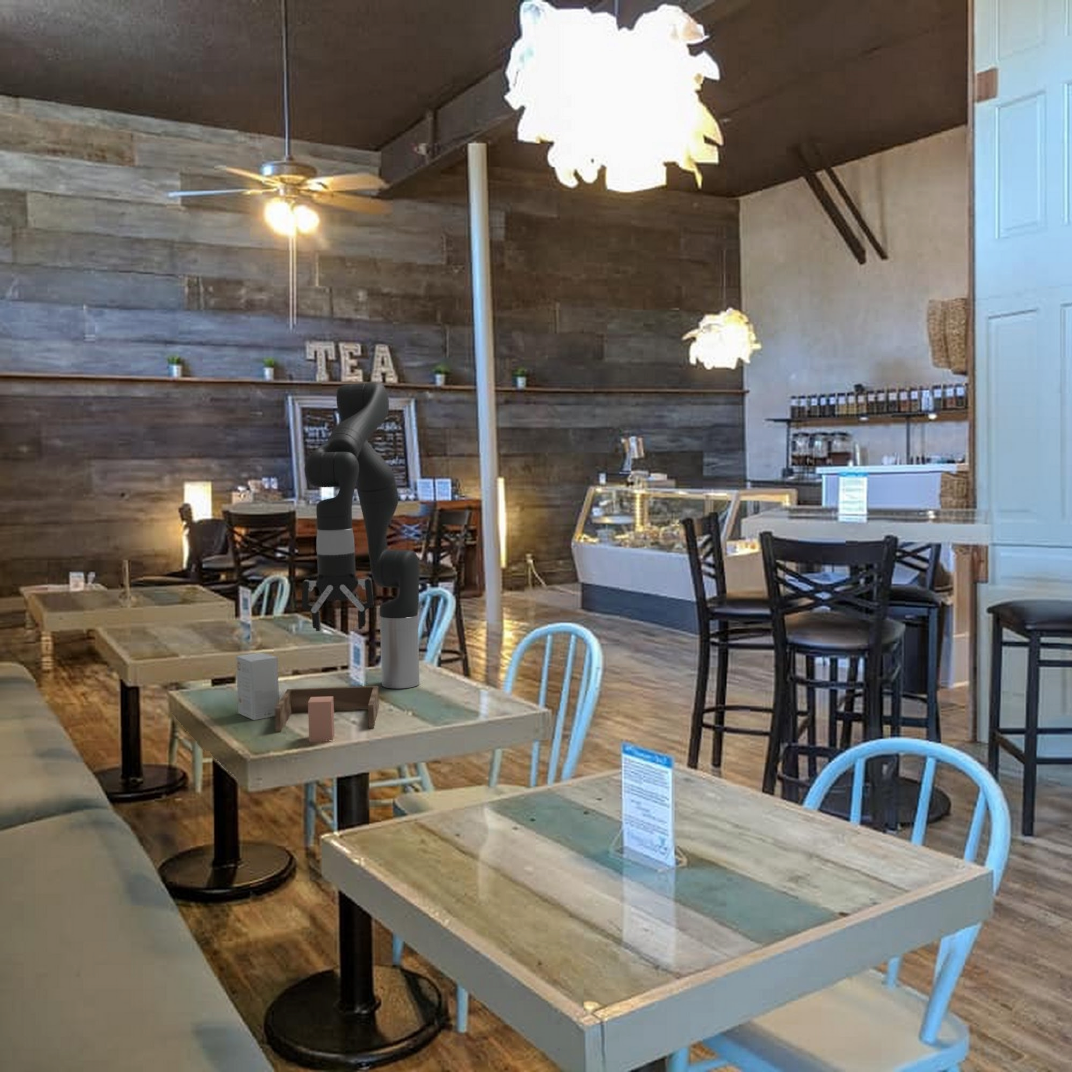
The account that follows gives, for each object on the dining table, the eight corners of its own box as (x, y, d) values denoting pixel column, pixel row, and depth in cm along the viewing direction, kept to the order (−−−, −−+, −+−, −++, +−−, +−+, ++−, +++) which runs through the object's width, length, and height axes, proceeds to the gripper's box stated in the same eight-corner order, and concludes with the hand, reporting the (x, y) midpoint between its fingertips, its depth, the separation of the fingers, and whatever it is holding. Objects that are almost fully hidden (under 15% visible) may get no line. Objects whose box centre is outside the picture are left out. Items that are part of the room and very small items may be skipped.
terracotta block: (312, 735, 210) (310, 697, 210) (334, 734, 211) (333, 696, 210) (309, 742, 206) (307, 702, 205) (332, 741, 206) (330, 701, 206)
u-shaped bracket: (288, 711, 230) (287, 689, 230) (378, 707, 232) (378, 685, 232) (275, 732, 213) (275, 708, 213) (373, 728, 215) (373, 704, 215)
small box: (280, 715, 227) (278, 657, 226) (253, 720, 223) (250, 661, 222) (264, 708, 233) (262, 651, 232) (237, 713, 229) (235, 655, 228)
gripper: (372, 547, 214) (375, 624, 216) (302, 549, 213) (306, 627, 215) (370, 552, 206) (373, 632, 208) (297, 554, 205) (301, 634, 207)
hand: (339, 629), depth 211 cm, fingers open, 8 cm apart
